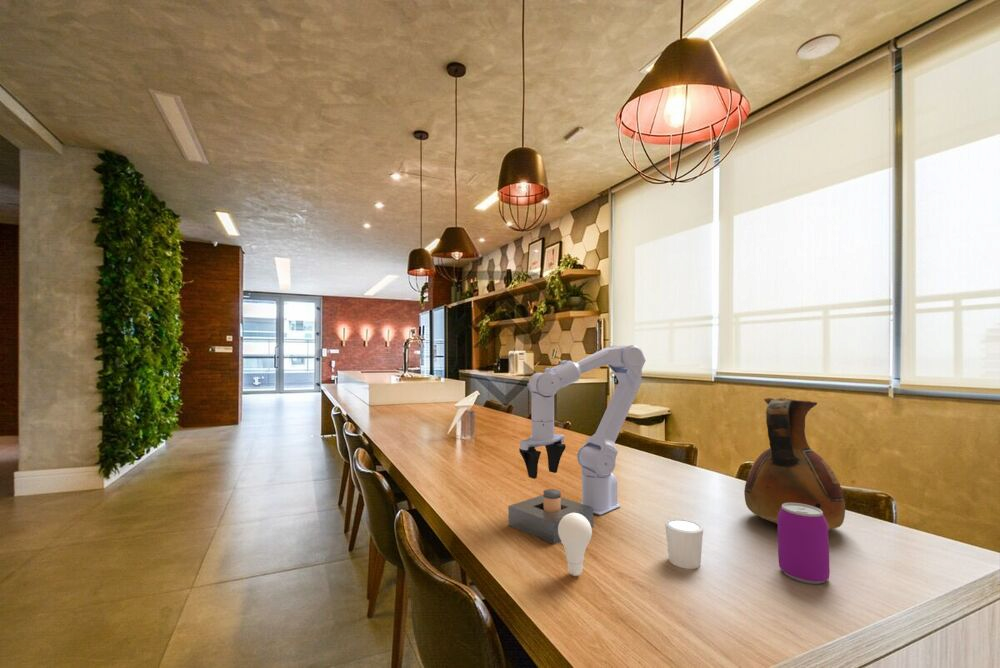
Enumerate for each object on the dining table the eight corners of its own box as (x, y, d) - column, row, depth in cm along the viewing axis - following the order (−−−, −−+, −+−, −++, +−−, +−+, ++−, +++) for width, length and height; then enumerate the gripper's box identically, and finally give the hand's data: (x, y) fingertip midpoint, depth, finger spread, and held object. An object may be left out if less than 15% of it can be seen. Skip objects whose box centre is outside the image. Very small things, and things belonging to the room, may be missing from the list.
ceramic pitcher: (850, 524, 104) (846, 397, 105) (840, 552, 89) (835, 404, 91) (757, 504, 117) (754, 392, 119) (735, 526, 103) (732, 397, 104)
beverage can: (777, 561, 85) (776, 498, 86) (826, 571, 81) (824, 505, 82) (779, 579, 78) (777, 510, 79) (833, 590, 75) (830, 519, 75)
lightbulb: (592, 585, 76) (591, 521, 76) (557, 582, 77) (556, 518, 78) (592, 568, 82) (591, 509, 82) (559, 565, 83) (559, 506, 84)
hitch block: (548, 511, 112) (547, 493, 112) (593, 527, 102) (593, 507, 102) (508, 525, 103) (508, 505, 103) (554, 544, 92) (553, 522, 93)
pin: (554, 522, 105) (554, 488, 105) (564, 528, 101) (564, 492, 102) (540, 525, 103) (540, 490, 103) (549, 531, 99) (549, 495, 100)
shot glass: (702, 556, 87) (701, 520, 87) (706, 573, 81) (705, 534, 81) (665, 551, 89) (664, 516, 90) (666, 566, 83) (665, 529, 83)
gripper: (549, 416, 118) (550, 466, 118) (511, 421, 109) (511, 476, 108) (570, 418, 113) (570, 472, 112) (531, 424, 103) (531, 483, 103)
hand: (543, 474), depth 110 cm, fingers open, 7 cm apart
